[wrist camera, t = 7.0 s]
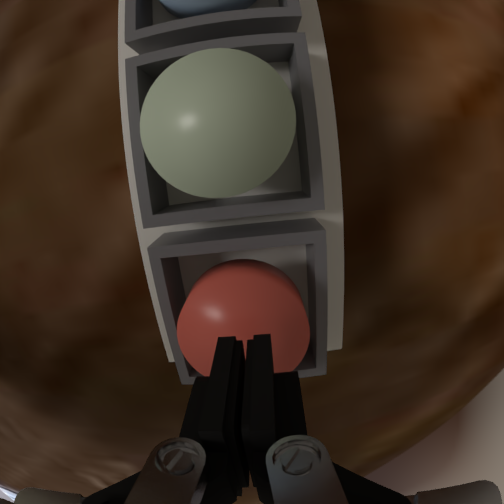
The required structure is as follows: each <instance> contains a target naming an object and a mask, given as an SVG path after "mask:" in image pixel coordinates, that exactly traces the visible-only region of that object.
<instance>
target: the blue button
mask: <svg viewBox="0 0 504 504" xmlns="http://www.w3.org/2000/svg"><path fill="white" fill-rule="evenodd" d="M256 1H257V0H159V2H160V3H161V5H162V6H163V7H164V8H165V10H167V11H168V12H169V13H170V14H172V15H173V16H175V17H178V18H180V19H183V18H188V17H193V16H199V15H204V14H211V13H217V12H225V11H233V10H242V9H247V8H249V7H250V6H251V5H252V4H254V3H255V2H256Z"/></svg>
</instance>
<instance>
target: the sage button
mask: <svg viewBox="0 0 504 504" xmlns="http://www.w3.org/2000/svg"><path fill="white" fill-rule="evenodd" d="M295 129H296V111H295V105H294V101H293V98H292V95H291V92H290V90H289V88H288V86H287V84H286V83H285V81H284V80H283V79H282V77H281V76H280V75H279V74H278V72H277V71H276V70H275V69H274V68H273V67H271V66H270V65H269V64H268V63H267V62H265V61H263V60H262V59H260V58H259V57H257V56H254V55H252V54H250V53H247V52H244V51H241V50H236V49H230V48H213V49H206V50H201V51H197V52H194V53H191V54H189V55H187V56H185V57H183V58H181V59H179V60H177V61H176V62H174V63H173V64H171V65H170V66H169V67H168V68H167V69H165V70H164V71H163V72H162V73H161V74H160V75H159V77H158V78H157V79H156V80H155V82H154V83H153V85H152V86H151V88H150V89H149V91H148V93H147V95H146V98H145V100H144V103H143V106H142V111H141V116H140V136H141V141H142V145H143V148H144V152H145V154H146V156H147V158H148V160H149V162H150V163H151V165H152V166H153V168H154V169H155V170H156V172H157V173H158V174H159V175H160V176H161V177H162V178H163V179H164V180H165V181H167V182H168V183H169V184H171V185H172V186H174V187H175V188H177V189H179V190H181V191H183V192H185V193H188V194H191V195H194V196H199V197H205V198H225V197H230V196H235V195H239V194H242V193H245V192H247V191H249V190H251V189H254V188H255V187H257V186H259V185H260V184H262V183H263V182H264V181H266V180H267V179H268V178H269V177H271V176H272V175H273V174H274V173H275V172H276V170H277V169H278V168H279V167H280V166H281V164H282V163H283V161H284V160H285V158H286V156H287V155H288V153H289V151H290V148H291V146H292V143H293V139H294V135H295Z"/></svg>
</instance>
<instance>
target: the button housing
mask: <svg viewBox="0 0 504 504" xmlns="http://www.w3.org/2000/svg"><path fill="white" fill-rule="evenodd" d="M213 48H230V49H236V50H241V51H244V52H247V53H250V54H252V55H254V56H257V57H259V58H260V59H262V60H263V61H265V62H267V63H268V64H269V65H270V66H271V67H273V68H274V69H275V70H276V71H277V72H278V74H279V75H280V76H281V77H282V79H283V80H284V81H285V83H286V84H287V86H288V88H289V90H290V92H291V95H292V98H293V101H294V105H295V111H296V129H295V135H294V139H293V143H292V146H291V148H290V151H289V153H288V155H287V156H286V158H285V160H284V161H283V163H282V164H281V166H280V167H279V168H278V169H277V170H276V172H275V173H274V174H273V175H272V176H271V177H269V178H268V179H267V180H266V181H264V182H263V183H262V184H260V185H259V186H257V187H255V188H254V189H251V190H249V191H247V192H245V193H242V194H239V195H235V196H230V197H225V198H205V197H199V196H194V195H191V194H188V193H185V192H183V191H181V190H179V189H177V188H175V187H174V186H172V185H171V184H169V183H168V182H167V181H165V180H164V179H163V178H162V177H161V176H160V175H159V174H158V173H157V172H156V170H155V169H154V168H153V166H152V165H151V163H150V162H149V160H148V158H147V156H146V154H145V152H144V148H143V145H142V141H141V136H140V116H141V111H142V106H143V103H144V100H145V98H146V95H147V93H148V91H149V89H150V88H151V86H152V85H153V83H154V82H155V80H156V79H157V78H158V77H159V75H160V74H161V73H162V72H163V71H164V70H165V69H167V68H168V67H169V66H170V65H171V64H173V63H174V62H176V61H177V60H179V59H181V58H183V57H185V56H187V55H189V54H191V53H194V52H197V51H201V50H206V49H213ZM118 64H119V88H120V104H121V117H122V128H123V138H124V148H125V156H126V164H127V172H128V179H129V186H130V193H131V199H132V206H133V212H134V217H135V223H136V228H137V234H138V239H139V244H140V249H141V254H142V259H143V264H144V268H145V273H146V277H147V281H148V286H149V290H150V294H151V298H152V302H153V306H154V310H155V314H156V318H157V322H158V325H159V329H160V333H161V336H162V340H163V343H164V347H165V350H166V353H167V357H168V360H169V362H175V364H176V367H177V371H178V374H179V377H180V380H181V383H182V384H194V381H195V378H196V377H197V376H203V375H202V374H200V373H199V372H198V371H197V370H196V369H194V368H193V367H192V366H191V364H190V363H189V362H188V361H187V359H186V358H185V357H184V355H183V353H182V351H181V349H180V346H179V343H178V338H177V322H178V318H179V315H180V312H181V310H182V308H183V306H184V304H185V301H186V299H187V297H188V295H189V293H190V291H191V289H192V287H193V285H194V283H195V282H196V281H197V279H198V278H199V277H200V276H201V275H202V274H203V273H204V272H206V271H207V270H208V269H210V268H211V267H213V266H215V265H217V264H219V263H222V262H225V261H229V260H234V259H254V260H259V261H263V262H266V263H268V264H271V265H273V266H275V267H277V268H278V269H280V270H281V271H283V272H284V273H285V274H286V275H287V276H288V277H289V278H290V279H291V280H292V281H293V282H294V284H295V285H296V287H297V288H298V290H299V293H300V295H301V298H302V301H303V305H304V308H305V311H306V315H307V318H308V322H309V326H310V341H309V345H308V349H307V351H306V354H305V356H304V357H303V359H302V361H301V362H300V363H299V364H298V366H297V367H296V368H295V369H294V370H293V371H298V375H299V378H303V377H311V376H319V375H326V368H327V351H330V350H337V349H342V338H343V312H344V229H343V203H342V185H341V170H340V157H339V145H338V135H337V125H336V116H335V107H334V99H333V91H332V84H331V77H330V70H329V64H328V58H327V52H326V46H325V40H324V35H323V29H322V24H321V19H320V14H319V9H318V5H317V0H257V1H256V2H255V3H254V4H252V5H251V6H250V7H249V8H247V9H242V10H233V11H225V12H217V13H211V14H204V15H199V16H193V17H188V18H183V19H180V18H178V17H175V16H173V15H172V14H170V13H169V12H168V11H167V10H165V8H164V7H163V6H162V5H161V3H160V2H159V0H119V12H118Z"/></svg>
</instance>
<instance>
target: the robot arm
mask: <svg viewBox="0 0 504 504" xmlns="http://www.w3.org/2000/svg"><path fill="white" fill-rule="evenodd" d="M249 471H250V474H251V478H252V482H253V486H254V487H257V492H258V496H259V500H260V501H261V502H262V503H264V504H502V499H501V494H500V491H499V489H498V487H497V486H496V485H495V484H494V483H493V482H490V481H487V480H482V481H475V482H471V483H467V484H462V485H457V486H452V487H447V488H441V489H435V490H430V491H421V492H417V494H416V495H410V496H404V495H402V494H400V493H398V492H395V491H393V490H391V489H388V488H386V487H383V486H381V485H379V484H377V483H375V482H372V481H370V480H368V479H366V478H364V477H362V476H359V475H357V474H355V473H353V472H351V471H349V470H347V469H345V468H343V467H341V466H339V465H337V464H335V463H333V462H332V461H331V459H330V456H329V454H328V451H327V449H326V448H325V446H324V445H323V443H321V442H320V441H319V440H317V439H315V438H313V437H310V436H307V430H306V423H305V416H304V409H303V402H302V395H301V389H300V382H299V375H298V371H291V372H280V373H274V365H273V354H272V343H271V334H258V335H254V336H253V339H250V340H247V349H246V359H245V353H244V346H243V341H242V340H237V339H236V336H228V337H218V340H217V344H216V349H215V353H214V358H213V362H212V367H211V371H210V376H197V377H196V378H195V381H194V384H193V388H192V391H191V395H190V399H189V402H188V406H187V410H186V413H185V417H184V421H183V425H182V428H181V432H180V436H179V437H177V438H171V439H168V440H165V441H163V442H161V443H160V444H158V445H157V446H156V447H155V448H154V449H153V451H152V452H151V453H150V455H149V457H148V459H147V461H146V463H145V465H144V467H143V469H142V470H141V471H140V472H138V473H136V474H134V475H132V476H130V477H128V478H126V479H124V480H122V481H120V482H118V483H116V484H113V485H111V486H109V487H107V488H105V489H103V490H100V491H98V492H96V493H94V494H92V495H90V496H88V497H83V496H82V495H81V494H74V493H65V492H58V491H51V490H44V489H38V488H25V489H22V490H21V491H20V492H19V493H18V494H17V496H16V498H15V501H14V503H12V502H10V501H7V500H5V499H1V498H0V504H233V503H234V502H235V501H237V496H242V487H249Z"/></svg>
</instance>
